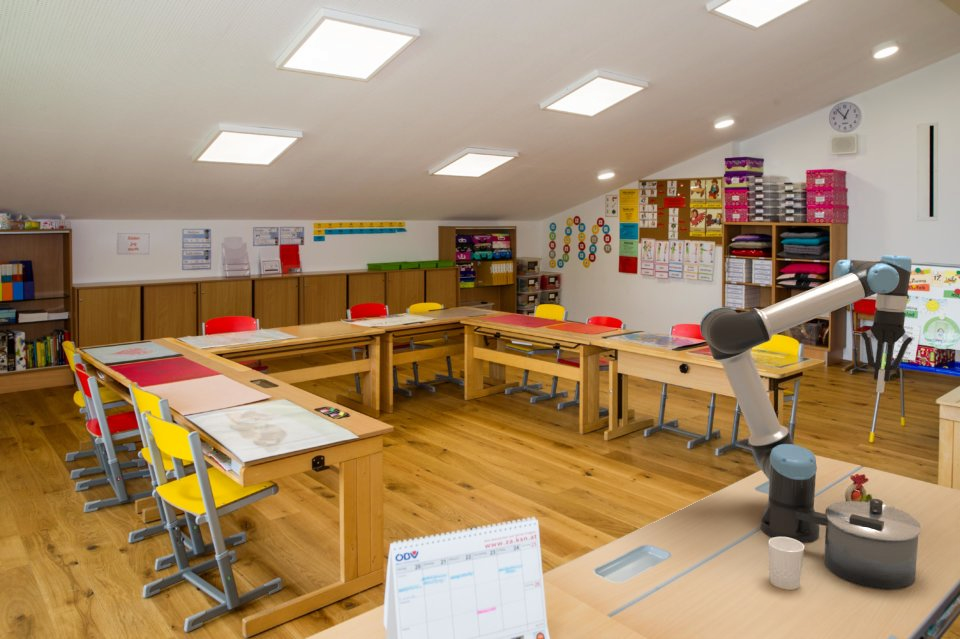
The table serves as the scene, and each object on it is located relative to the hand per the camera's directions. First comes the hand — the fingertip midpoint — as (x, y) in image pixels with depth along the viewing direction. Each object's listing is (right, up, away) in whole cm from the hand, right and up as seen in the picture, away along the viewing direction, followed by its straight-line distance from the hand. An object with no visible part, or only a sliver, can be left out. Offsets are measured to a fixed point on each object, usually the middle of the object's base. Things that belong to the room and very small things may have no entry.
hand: (879, 391), depth 203 cm
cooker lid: (-17, -30, -27) cm, 44 cm away
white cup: (-41, -43, -31) cm, 67 cm away
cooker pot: (-20, -41, -23) cm, 52 cm away
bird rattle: (0, -36, +11) cm, 38 cm away
